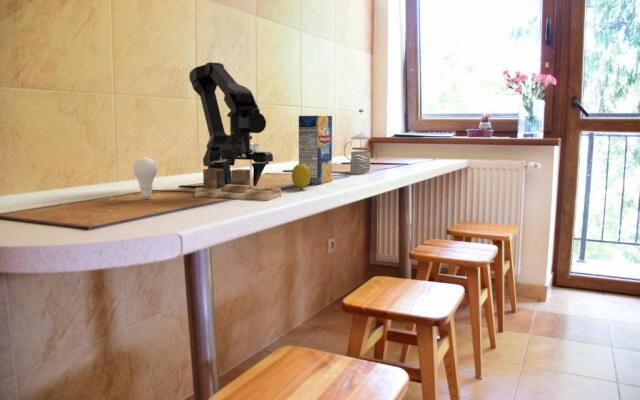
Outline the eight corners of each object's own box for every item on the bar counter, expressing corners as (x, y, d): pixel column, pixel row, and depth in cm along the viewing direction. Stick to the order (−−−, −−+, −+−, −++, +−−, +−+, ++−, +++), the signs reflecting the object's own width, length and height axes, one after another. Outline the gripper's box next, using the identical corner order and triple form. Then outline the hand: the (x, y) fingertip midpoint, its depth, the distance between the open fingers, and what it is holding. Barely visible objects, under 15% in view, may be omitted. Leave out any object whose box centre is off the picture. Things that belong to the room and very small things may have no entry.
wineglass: (263, 177, 198) (263, 144, 197) (246, 178, 195) (246, 144, 193) (255, 176, 204) (254, 143, 202) (238, 177, 200) (237, 144, 198)
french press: (373, 173, 215) (374, 108, 211) (344, 173, 215) (344, 108, 211) (371, 171, 224) (372, 109, 221) (343, 171, 225) (343, 109, 221)
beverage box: (298, 183, 179) (298, 115, 176) (313, 180, 189) (313, 116, 186) (317, 184, 176) (317, 115, 173) (331, 181, 186) (332, 116, 183)
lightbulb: (136, 201, 139) (134, 158, 138) (132, 198, 145) (130, 156, 143) (160, 199, 142) (159, 157, 141) (156, 196, 148) (154, 156, 146)
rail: (194, 196, 149) (194, 169, 148) (210, 192, 156) (209, 167, 155) (268, 200, 141) (268, 172, 140) (281, 196, 149) (281, 169, 148)
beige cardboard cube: (244, 191, 160) (243, 170, 160) (231, 190, 162) (231, 170, 161) (251, 189, 165) (250, 169, 164) (239, 188, 166) (239, 169, 165)
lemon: (308, 190, 162) (308, 163, 161) (289, 190, 163) (289, 163, 162) (312, 188, 167) (312, 162, 166) (294, 187, 168) (294, 161, 167)
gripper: (197, 132, 156) (199, 187, 158) (256, 133, 150) (257, 190, 152) (217, 132, 167) (218, 183, 169) (273, 132, 160) (274, 185, 163)
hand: (241, 185), depth 163 cm, fingers open, 9 cm apart
